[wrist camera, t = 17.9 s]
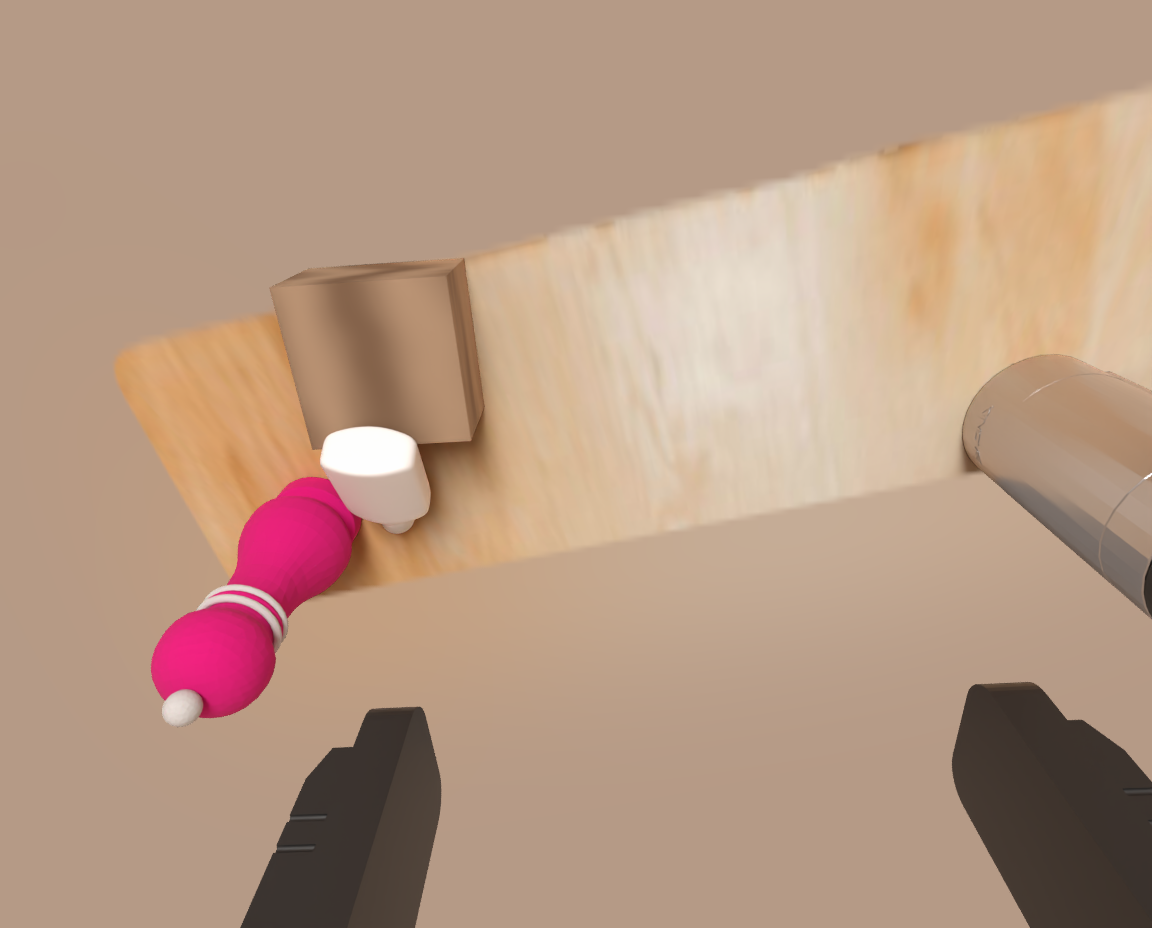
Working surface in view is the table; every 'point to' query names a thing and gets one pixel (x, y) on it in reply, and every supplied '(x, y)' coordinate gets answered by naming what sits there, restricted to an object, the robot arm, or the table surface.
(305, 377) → the walnut box
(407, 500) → the eye dropper bottle
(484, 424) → the table surface
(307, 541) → the pepper mill
